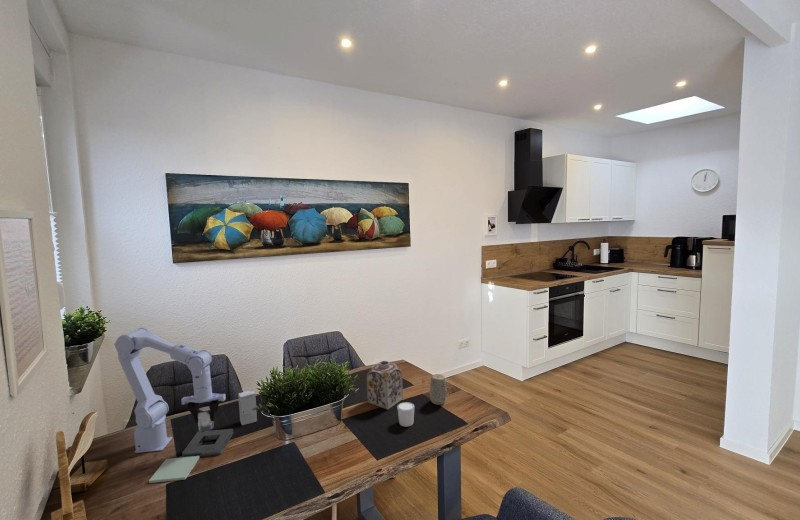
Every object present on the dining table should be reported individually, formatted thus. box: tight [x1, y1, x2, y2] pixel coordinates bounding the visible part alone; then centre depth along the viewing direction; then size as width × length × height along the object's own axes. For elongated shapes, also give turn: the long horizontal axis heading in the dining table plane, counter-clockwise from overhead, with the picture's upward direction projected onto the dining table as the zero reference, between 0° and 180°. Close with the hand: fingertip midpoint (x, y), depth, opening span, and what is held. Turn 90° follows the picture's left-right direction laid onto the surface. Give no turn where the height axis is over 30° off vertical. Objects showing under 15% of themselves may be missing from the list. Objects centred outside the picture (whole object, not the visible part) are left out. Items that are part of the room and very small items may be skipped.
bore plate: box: [181, 428, 234, 457], centre depth 140 cm, size 13×13×2 cm
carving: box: [429, 373, 447, 406], centre depth 165 cm, size 6×8×12 cm
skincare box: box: [237, 389, 258, 426], centre depth 155 cm, size 6×4×12 cm
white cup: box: [396, 401, 415, 427], centre depth 150 cm, size 7×7×7 cm
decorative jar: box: [366, 360, 404, 410], centre depth 168 cm, size 12×12×18 cm
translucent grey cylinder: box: [197, 406, 215, 432], centre depth 138 cm, size 5×5×7 cm
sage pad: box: [148, 456, 201, 484], centre depth 126 cm, size 11×11×1 cm
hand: (205, 420), depth 138 cm, fingers closed on translucent grey cylinder, 5 cm apart
